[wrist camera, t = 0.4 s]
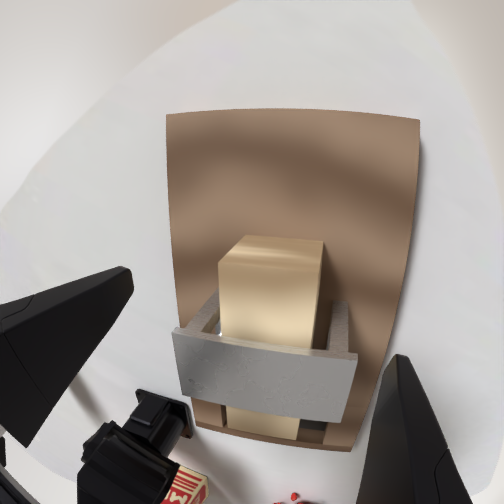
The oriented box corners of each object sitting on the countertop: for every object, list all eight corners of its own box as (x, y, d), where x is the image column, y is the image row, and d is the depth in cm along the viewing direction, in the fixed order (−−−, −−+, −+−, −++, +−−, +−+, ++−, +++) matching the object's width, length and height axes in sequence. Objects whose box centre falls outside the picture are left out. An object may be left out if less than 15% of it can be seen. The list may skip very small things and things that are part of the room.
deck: (351, 437, 27) (350, 452, 25) (202, 413, 31) (196, 425, 29) (412, 121, 17) (419, 119, 15) (179, 116, 21) (166, 114, 19)
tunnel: (343, 360, 22) (340, 422, 16) (215, 342, 24) (182, 394, 18) (354, 302, 20) (357, 360, 14) (211, 286, 22) (171, 332, 17)
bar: (305, 393, 24) (295, 440, 19) (246, 384, 25) (227, 427, 20) (323, 241, 19) (318, 272, 15) (245, 234, 20) (218, 262, 16)
